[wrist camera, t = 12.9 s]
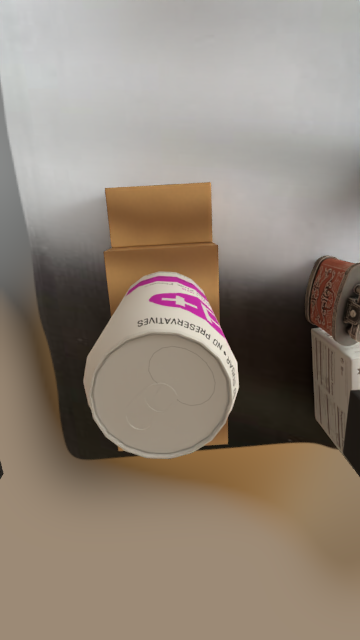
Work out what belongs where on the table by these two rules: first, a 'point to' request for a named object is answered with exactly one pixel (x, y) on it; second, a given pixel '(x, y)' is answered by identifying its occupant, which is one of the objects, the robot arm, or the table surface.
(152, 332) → the supplement can
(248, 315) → the table surface
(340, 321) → the lighter
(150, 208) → the step shelf
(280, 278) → the table surface
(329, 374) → the supplement box
